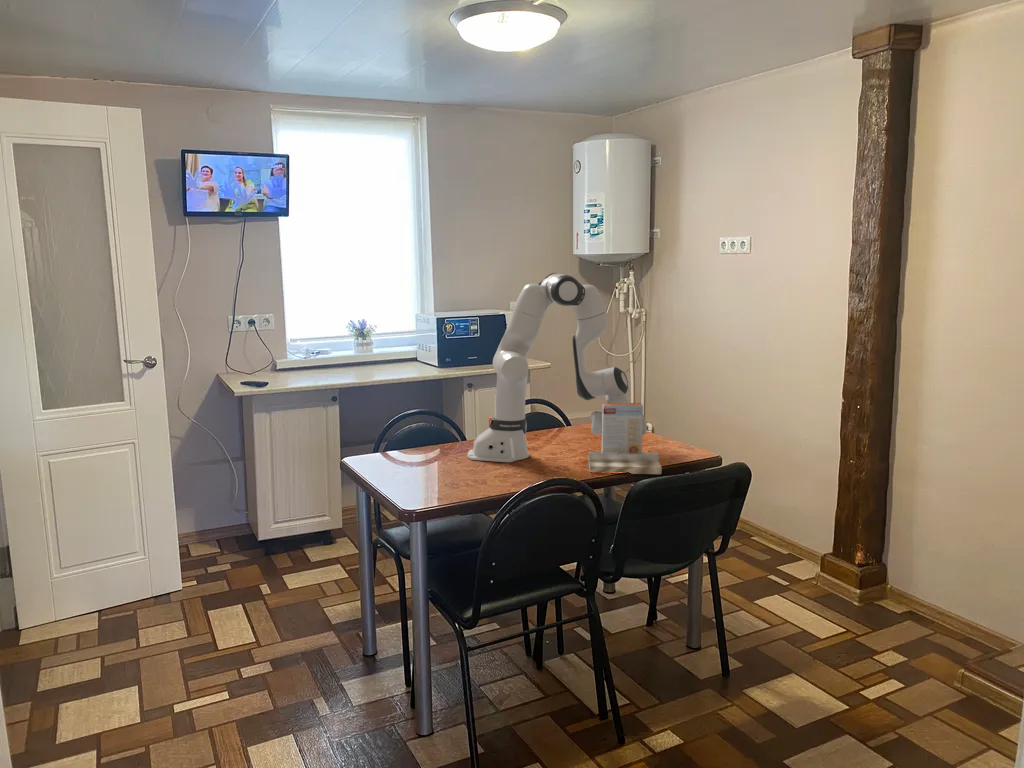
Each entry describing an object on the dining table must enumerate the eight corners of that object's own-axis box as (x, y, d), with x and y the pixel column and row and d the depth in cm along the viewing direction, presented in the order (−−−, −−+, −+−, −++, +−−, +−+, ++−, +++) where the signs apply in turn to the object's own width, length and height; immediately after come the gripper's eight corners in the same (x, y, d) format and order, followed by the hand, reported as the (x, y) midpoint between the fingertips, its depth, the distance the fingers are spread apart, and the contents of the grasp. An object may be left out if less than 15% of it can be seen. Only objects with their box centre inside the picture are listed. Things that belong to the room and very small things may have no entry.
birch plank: (590, 473, 262) (590, 466, 262) (588, 467, 269) (589, 460, 269) (661, 474, 262) (661, 467, 261) (658, 468, 269) (658, 461, 268)
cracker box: (639, 458, 281) (641, 402, 278) (641, 463, 275) (643, 405, 272) (600, 458, 281) (602, 401, 278) (602, 462, 275) (603, 405, 272)
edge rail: (588, 467, 269) (589, 453, 268) (588, 465, 271) (588, 452, 270) (658, 468, 269) (658, 454, 268) (657, 466, 271) (657, 452, 270)
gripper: (590, 406, 287) (591, 438, 279) (646, 407, 286) (648, 439, 278) (589, 415, 292) (590, 447, 284) (644, 416, 291) (646, 448, 283)
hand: (619, 443), depth 281 cm, fingers closed
